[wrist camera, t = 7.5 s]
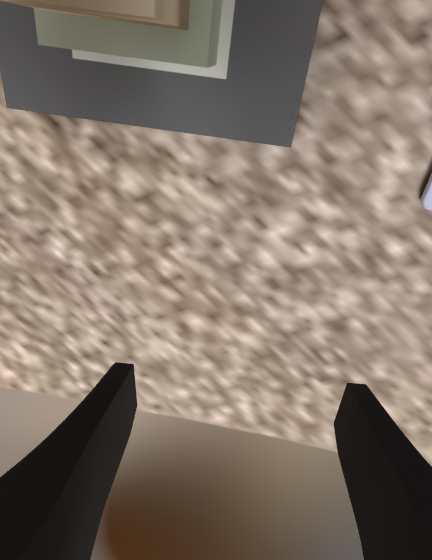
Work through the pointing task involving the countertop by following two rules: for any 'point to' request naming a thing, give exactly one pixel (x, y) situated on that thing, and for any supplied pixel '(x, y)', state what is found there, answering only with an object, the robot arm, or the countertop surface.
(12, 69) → the mat
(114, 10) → the birch block
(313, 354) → the countertop surface
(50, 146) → the countertop surface
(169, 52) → the sage block
